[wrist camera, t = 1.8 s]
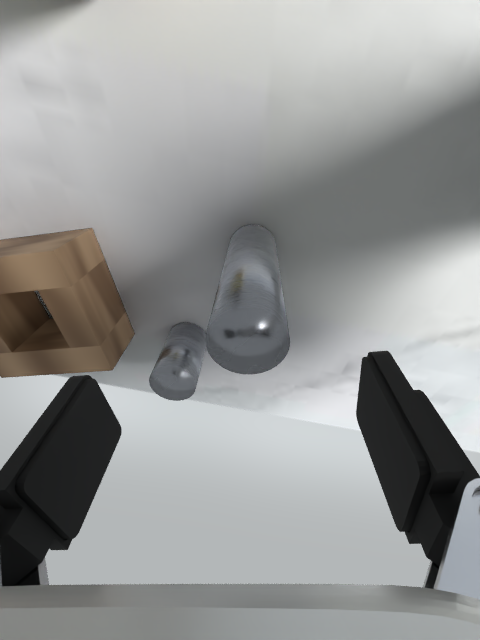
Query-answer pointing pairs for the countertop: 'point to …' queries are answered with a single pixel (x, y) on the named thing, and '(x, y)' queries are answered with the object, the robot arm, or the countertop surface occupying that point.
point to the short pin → (179, 362)
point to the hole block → (59, 306)
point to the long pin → (249, 306)
